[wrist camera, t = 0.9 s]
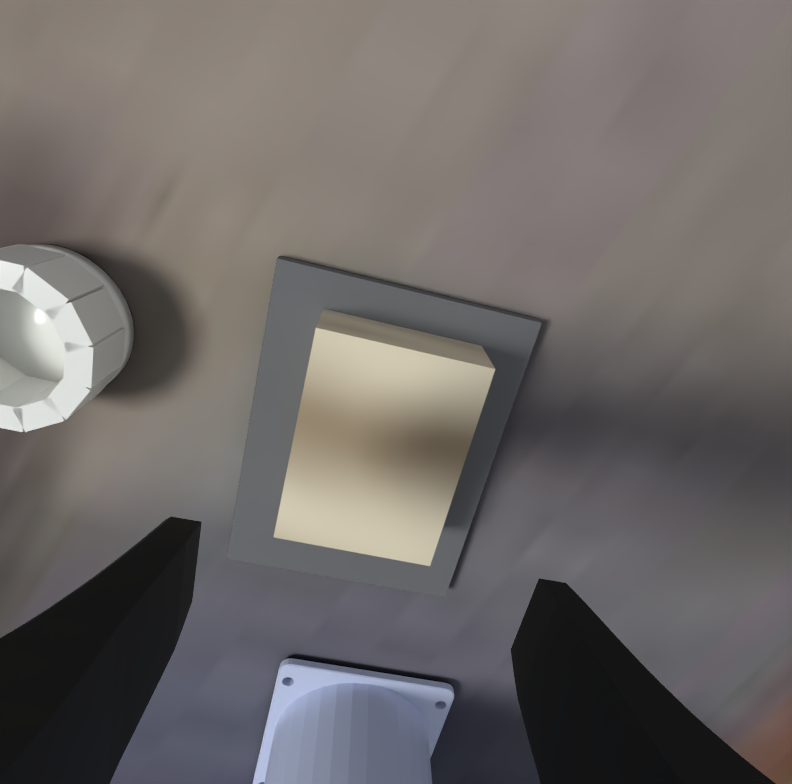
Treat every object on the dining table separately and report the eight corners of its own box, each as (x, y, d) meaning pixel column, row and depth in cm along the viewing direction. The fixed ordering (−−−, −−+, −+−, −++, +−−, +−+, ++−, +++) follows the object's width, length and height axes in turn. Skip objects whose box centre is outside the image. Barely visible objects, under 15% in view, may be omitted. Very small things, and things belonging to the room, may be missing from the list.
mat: (443, 587, 24) (445, 597, 23) (230, 548, 23) (226, 558, 22) (537, 318, 19) (541, 323, 19) (280, 255, 18) (276, 258, 18)
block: (424, 525, 22) (430, 566, 19) (284, 498, 21) (273, 537, 19) (481, 345, 19) (495, 369, 17) (323, 308, 18) (316, 327, 16)
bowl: (128, 407, 20) (88, 444, 17) (-24, 375, 20) (-91, 409, 17) (139, 265, 18) (97, 282, 15) (-28, 226, 18) (-104, 236, 15)
